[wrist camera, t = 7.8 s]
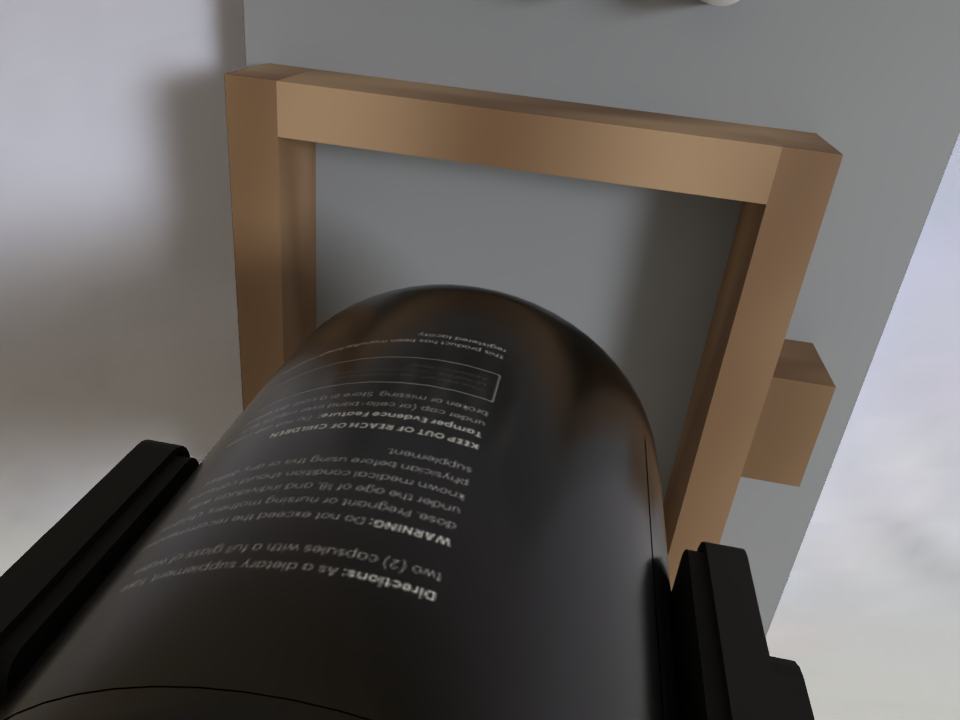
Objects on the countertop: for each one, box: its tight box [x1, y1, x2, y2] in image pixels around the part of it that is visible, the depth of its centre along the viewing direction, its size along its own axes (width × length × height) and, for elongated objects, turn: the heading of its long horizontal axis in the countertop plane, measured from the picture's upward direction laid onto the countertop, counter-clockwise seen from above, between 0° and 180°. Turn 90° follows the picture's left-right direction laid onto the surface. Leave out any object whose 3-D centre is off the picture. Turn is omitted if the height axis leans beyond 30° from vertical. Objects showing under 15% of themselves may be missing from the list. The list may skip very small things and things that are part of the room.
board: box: [243, 0, 960, 637], centre depth 17 cm, size 14×18×3 cm
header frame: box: [224, 63, 843, 591], centre depth 17 cm, size 12×11×2 cm
